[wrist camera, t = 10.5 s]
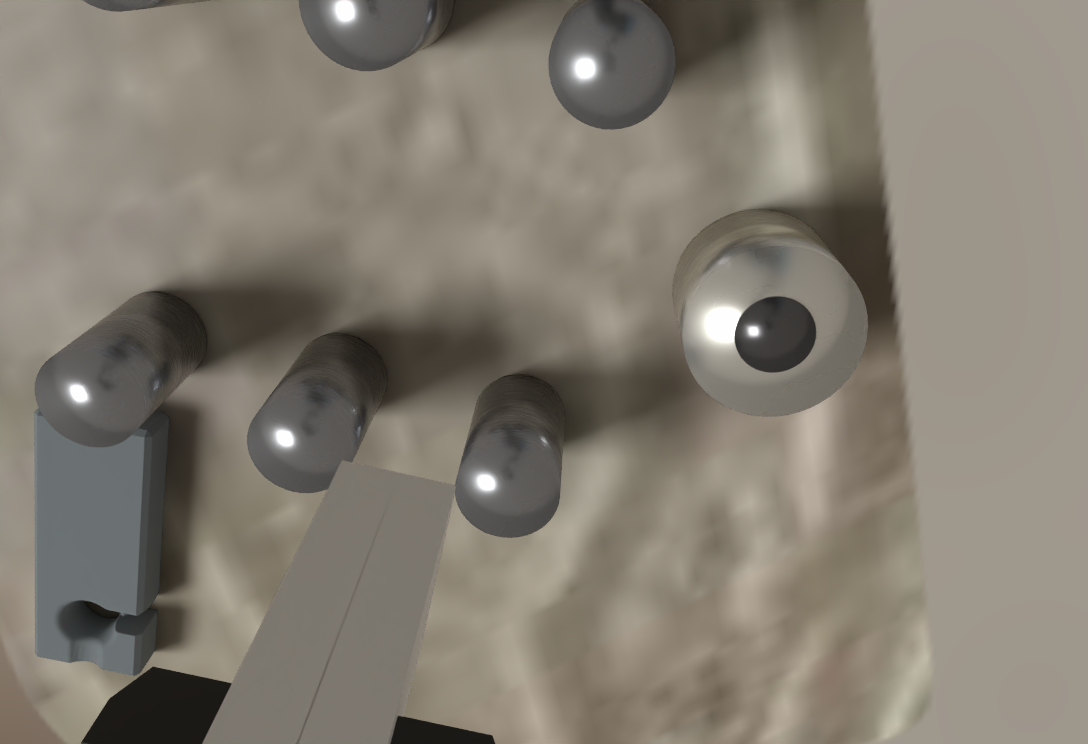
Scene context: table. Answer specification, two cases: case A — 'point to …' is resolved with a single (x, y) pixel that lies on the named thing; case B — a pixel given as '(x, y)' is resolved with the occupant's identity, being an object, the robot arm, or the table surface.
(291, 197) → the table surface
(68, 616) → the bracket
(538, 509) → the spacer field
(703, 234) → the silver metal cylinder
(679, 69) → the table surface
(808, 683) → the table surface
